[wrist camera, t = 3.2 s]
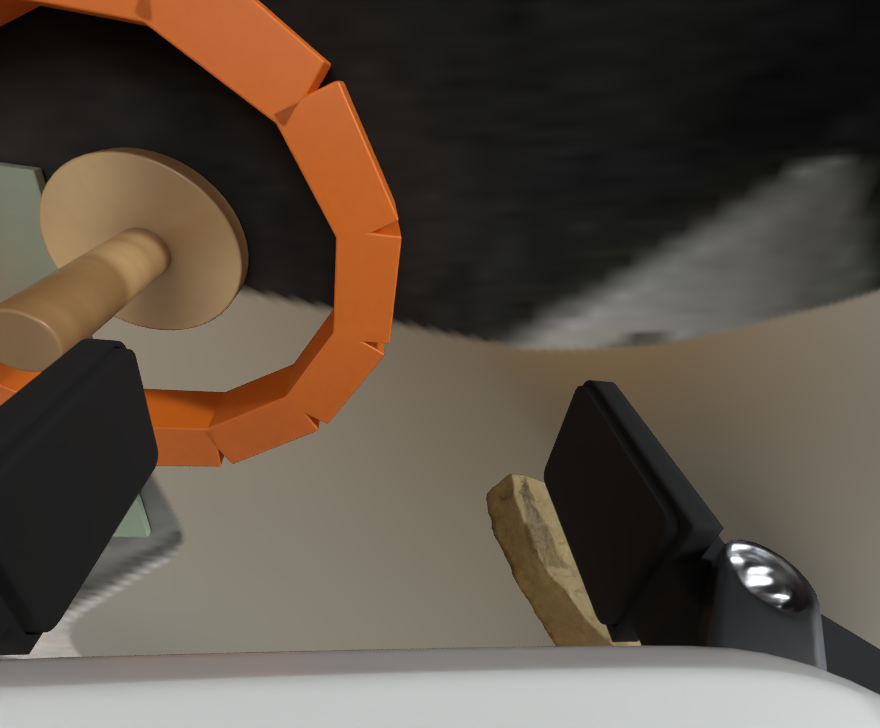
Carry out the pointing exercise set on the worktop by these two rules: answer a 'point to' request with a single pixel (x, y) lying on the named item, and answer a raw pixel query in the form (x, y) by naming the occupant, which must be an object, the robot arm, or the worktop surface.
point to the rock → (544, 562)
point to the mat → (37, 270)
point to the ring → (339, 196)
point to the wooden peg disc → (124, 254)
